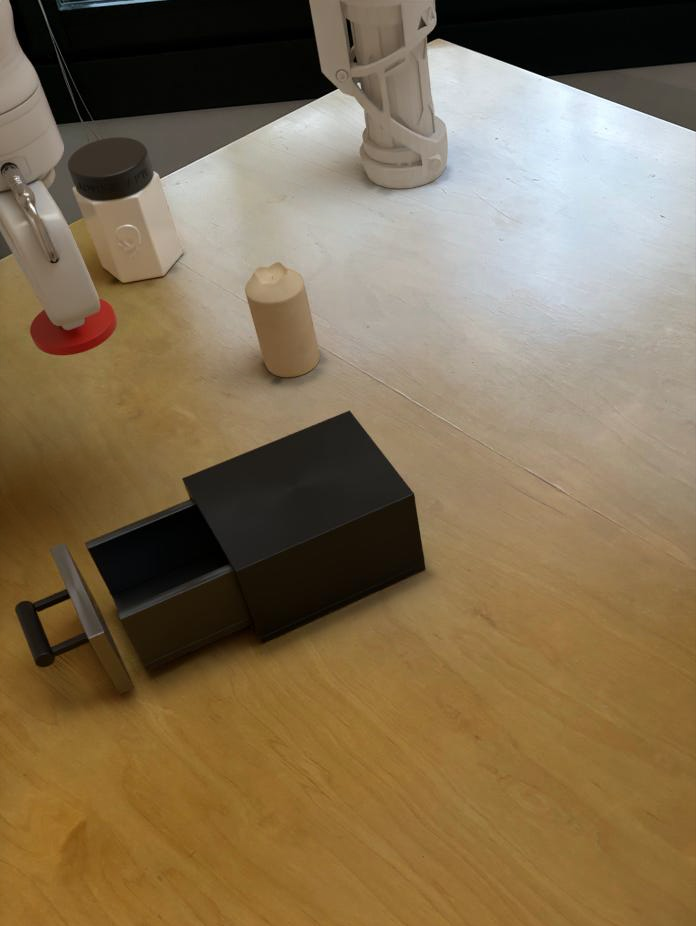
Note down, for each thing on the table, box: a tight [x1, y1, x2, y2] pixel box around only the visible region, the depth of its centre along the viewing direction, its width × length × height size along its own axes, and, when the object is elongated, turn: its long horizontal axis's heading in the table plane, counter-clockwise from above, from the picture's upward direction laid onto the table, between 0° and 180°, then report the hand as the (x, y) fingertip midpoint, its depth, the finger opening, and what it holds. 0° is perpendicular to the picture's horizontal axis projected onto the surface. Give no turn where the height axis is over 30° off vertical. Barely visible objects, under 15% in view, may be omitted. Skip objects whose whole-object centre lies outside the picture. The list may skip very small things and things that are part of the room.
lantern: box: [308, 0, 449, 190], centre depth 118 cm, size 13×10×25 cm
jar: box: [67, 136, 184, 284], centre depth 114 cm, size 9×8×12 cm
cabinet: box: [181, 410, 426, 644], centre depth 86 cm, size 15×12×9 cm
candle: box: [244, 261, 321, 378], centre depth 102 cm, size 6×6×10 cm
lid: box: [29, 298, 118, 356], centre depth 84 cm, size 7×7×4 cm
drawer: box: [14, 498, 253, 695], centre depth 82 cm, size 18×10×7 cm, turn 119°
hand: (66, 311), depth 84 cm, fingers closed on lid, 2 cm apart
